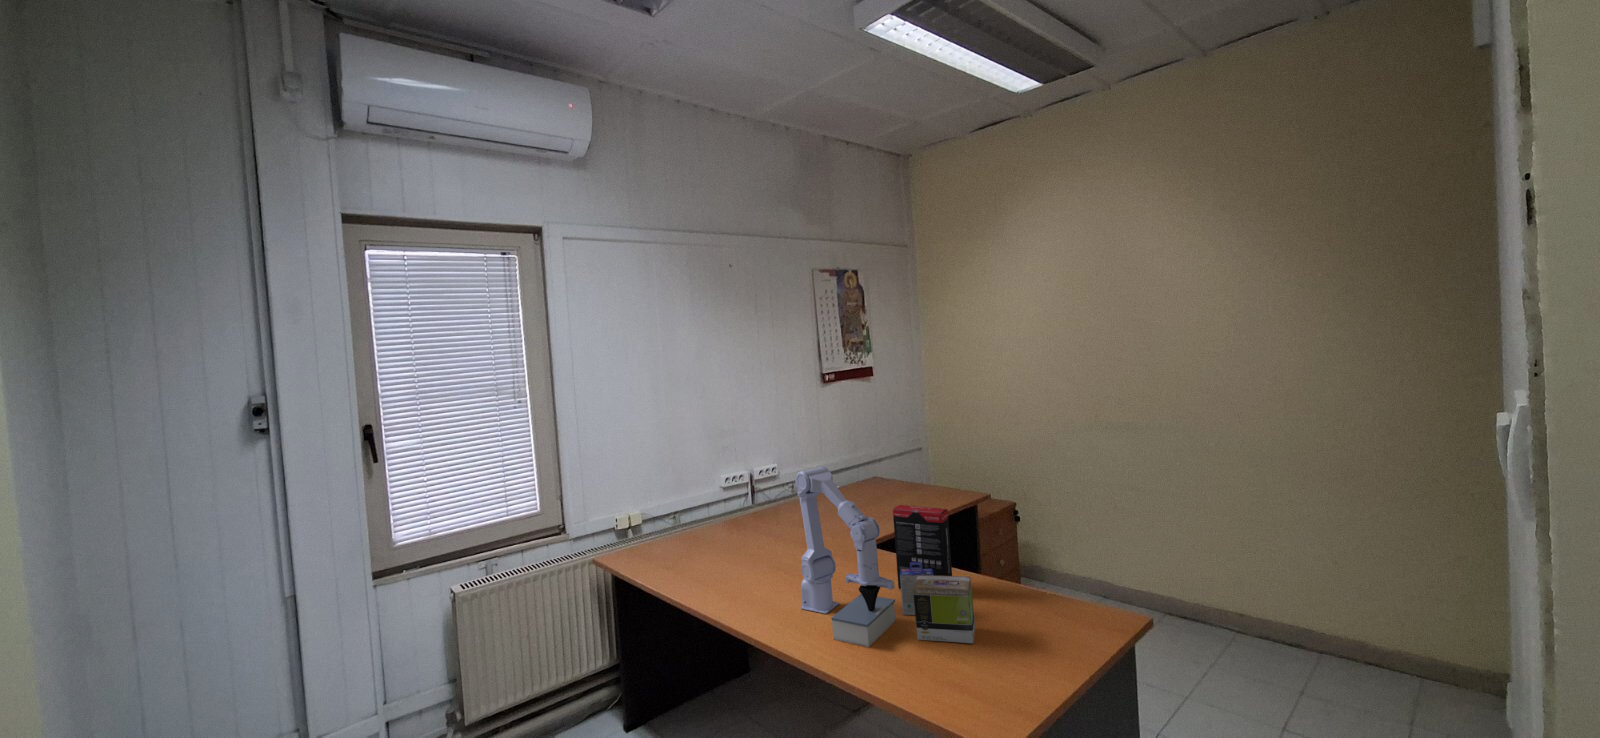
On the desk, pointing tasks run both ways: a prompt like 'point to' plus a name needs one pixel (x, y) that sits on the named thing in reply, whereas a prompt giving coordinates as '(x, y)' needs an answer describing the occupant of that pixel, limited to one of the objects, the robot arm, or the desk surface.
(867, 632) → the storage box
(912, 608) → the ink cartridge box
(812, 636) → the desk surface
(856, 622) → the box lid
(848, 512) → the robot arm
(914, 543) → the graphics card box
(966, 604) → the tea box
